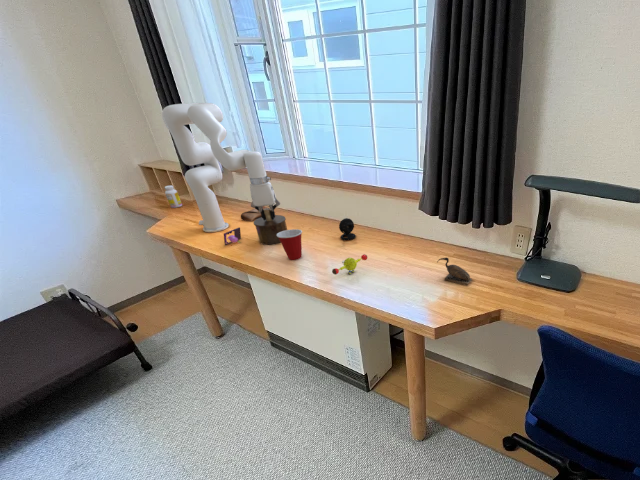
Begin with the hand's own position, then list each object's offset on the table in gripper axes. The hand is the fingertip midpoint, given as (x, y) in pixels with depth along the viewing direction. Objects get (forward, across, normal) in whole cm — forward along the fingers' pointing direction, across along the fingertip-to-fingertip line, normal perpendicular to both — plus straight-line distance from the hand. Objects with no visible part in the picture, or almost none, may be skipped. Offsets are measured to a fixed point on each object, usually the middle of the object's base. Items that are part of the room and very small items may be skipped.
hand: (269, 218), depth 175 cm
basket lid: (+1, 0, 0) cm, 1 cm away
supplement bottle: (+11, +74, -70) cm, 103 cm away
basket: (+11, 0, 0) cm, 11 cm away
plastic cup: (+11, -13, +23) cm, 29 cm away
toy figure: (+11, -39, +44) cm, 60 cm away
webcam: (+11, -37, +6) cm, 39 cm away
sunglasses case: (+11, +17, -39) cm, 43 cm away
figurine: (+11, -79, +56) cm, 98 cm away
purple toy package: (+11, +19, 0) cm, 22 cm away
